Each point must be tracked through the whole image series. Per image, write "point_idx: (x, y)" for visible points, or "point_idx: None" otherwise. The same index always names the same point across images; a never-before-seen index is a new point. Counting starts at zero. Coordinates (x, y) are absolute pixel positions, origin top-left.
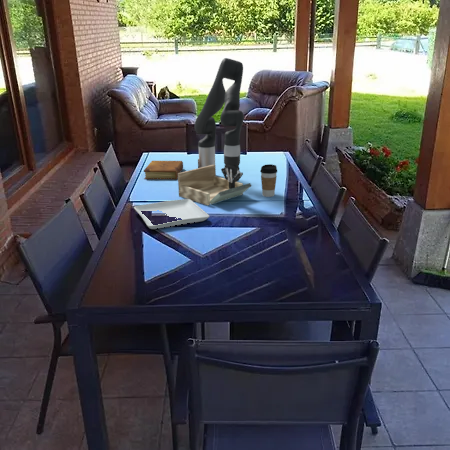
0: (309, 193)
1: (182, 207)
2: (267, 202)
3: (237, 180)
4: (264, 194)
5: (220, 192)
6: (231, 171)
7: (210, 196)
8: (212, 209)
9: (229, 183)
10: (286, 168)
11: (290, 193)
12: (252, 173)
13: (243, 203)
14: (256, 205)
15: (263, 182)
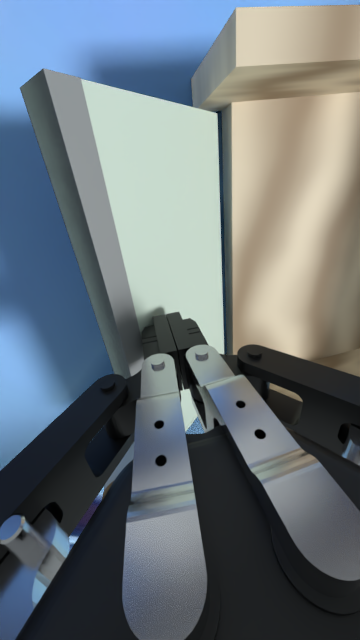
0: (70, 550)
1: None
2: (43, 425)
3: (104, 425)
4: (128, 451)
5: (39, 80)
6: (138, 543)
7: (293, 212)
8: (87, 39)
9: (185, 339)
10: None
11: None
12: None
13: (93, 329)
14: (19, 368)
15: None
